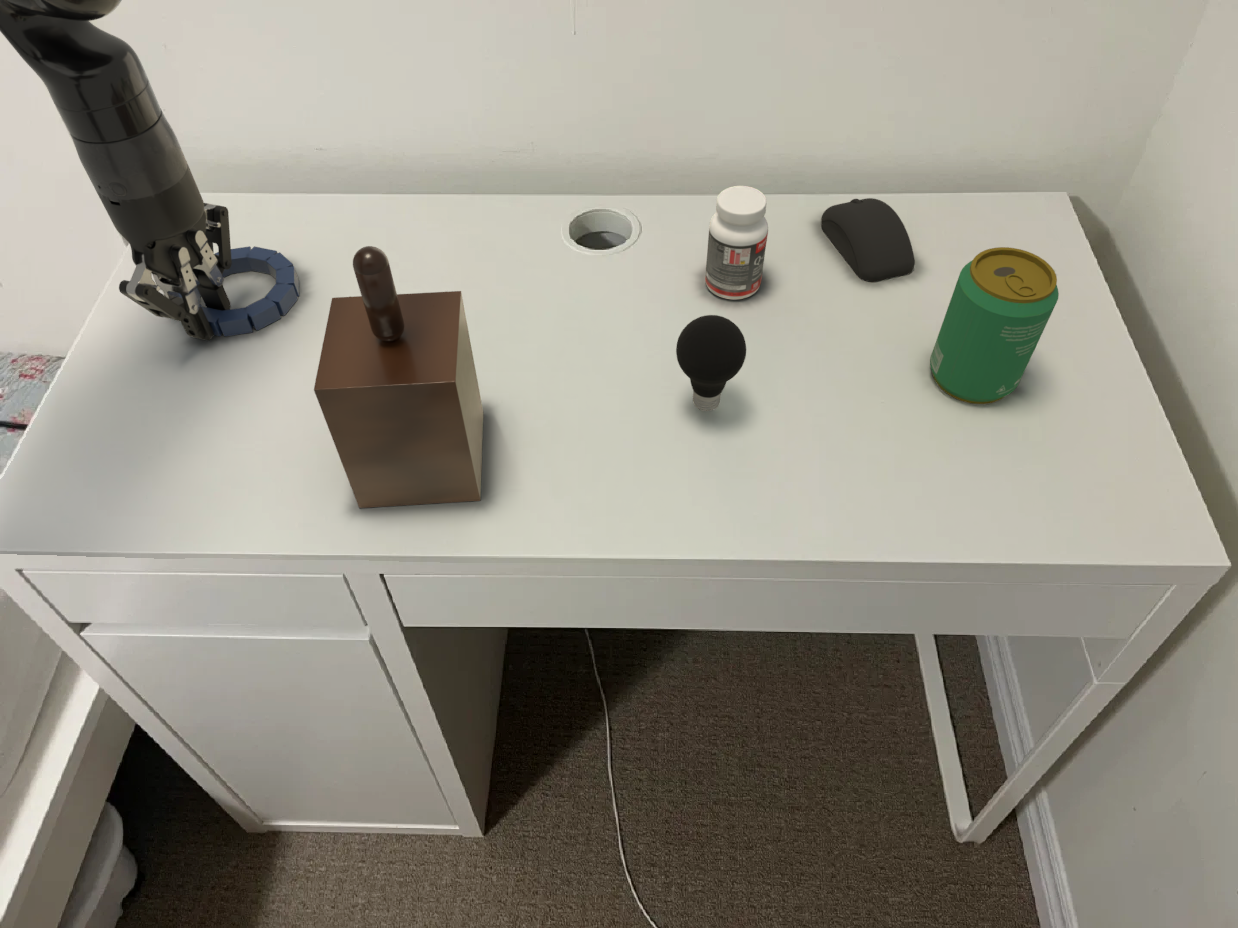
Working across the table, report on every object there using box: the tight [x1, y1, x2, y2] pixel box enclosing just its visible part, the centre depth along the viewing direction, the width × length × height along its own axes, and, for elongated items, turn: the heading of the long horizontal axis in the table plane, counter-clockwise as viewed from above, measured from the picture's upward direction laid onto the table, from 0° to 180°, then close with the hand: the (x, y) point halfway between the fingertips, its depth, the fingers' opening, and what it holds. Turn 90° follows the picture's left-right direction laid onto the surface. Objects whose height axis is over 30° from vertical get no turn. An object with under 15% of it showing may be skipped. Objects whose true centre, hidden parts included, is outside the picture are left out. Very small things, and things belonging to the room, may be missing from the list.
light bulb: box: [675, 314, 747, 412], centre depth 78 cm, size 6×6×10 cm
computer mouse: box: [820, 197, 916, 283], centre depth 95 cm, size 6×11×4 cm, turn 18°
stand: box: [313, 245, 484, 509], centre depth 70 cm, size 10×10×22 cm
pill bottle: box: [704, 185, 769, 300], centre depth 89 cm, size 6×6×10 cm
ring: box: [178, 245, 300, 337], centre depth 92 cm, size 12×12×2 cm
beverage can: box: [929, 246, 1060, 405], centre depth 79 cm, size 8×8×12 cm
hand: (212, 325), depth 89 cm, fingers closed
